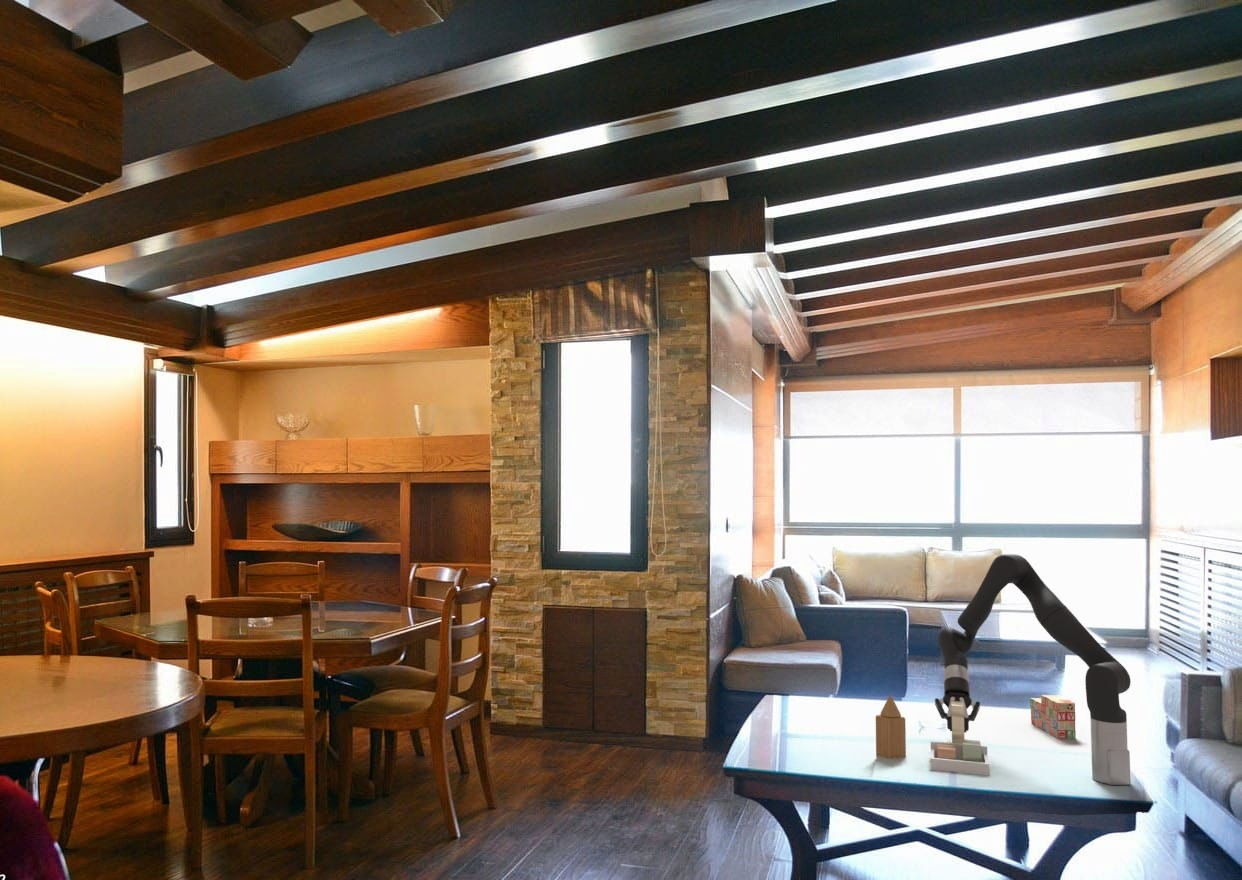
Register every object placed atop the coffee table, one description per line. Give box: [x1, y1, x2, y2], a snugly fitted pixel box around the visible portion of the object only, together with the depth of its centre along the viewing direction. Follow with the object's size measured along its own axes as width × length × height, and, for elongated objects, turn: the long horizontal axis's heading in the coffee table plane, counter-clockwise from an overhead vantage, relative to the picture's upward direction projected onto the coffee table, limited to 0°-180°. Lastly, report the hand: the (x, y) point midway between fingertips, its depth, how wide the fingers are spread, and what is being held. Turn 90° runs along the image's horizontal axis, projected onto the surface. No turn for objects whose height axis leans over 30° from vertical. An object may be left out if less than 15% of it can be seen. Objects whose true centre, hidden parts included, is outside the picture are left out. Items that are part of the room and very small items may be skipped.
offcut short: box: [938, 744, 956, 760], centre depth 266 cm, size 5×5×5 cm
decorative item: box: [875, 693, 907, 760], centre depth 276 cm, size 7×7×20 cm
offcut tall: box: [962, 738, 982, 762], centre depth 264 cm, size 6×5×7 cm
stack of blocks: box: [1029, 694, 1077, 740], centre depth 314 cm, size 21×6×12 cm, turn 178°
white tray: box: [929, 738, 991, 776], centre depth 270 cm, size 24×16×6 cm, turn 160°
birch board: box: [951, 701, 965, 744], centre depth 275 cm, size 7×4×16 cm, turn 160°
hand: (958, 730), depth 273 cm, fingers closed on birch board, 3 cm apart
